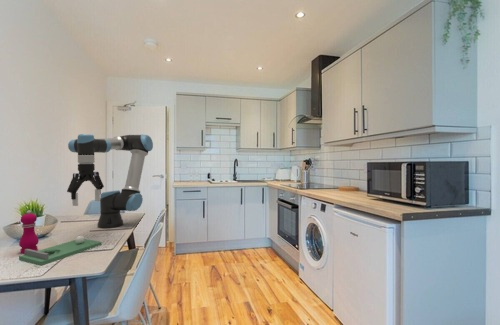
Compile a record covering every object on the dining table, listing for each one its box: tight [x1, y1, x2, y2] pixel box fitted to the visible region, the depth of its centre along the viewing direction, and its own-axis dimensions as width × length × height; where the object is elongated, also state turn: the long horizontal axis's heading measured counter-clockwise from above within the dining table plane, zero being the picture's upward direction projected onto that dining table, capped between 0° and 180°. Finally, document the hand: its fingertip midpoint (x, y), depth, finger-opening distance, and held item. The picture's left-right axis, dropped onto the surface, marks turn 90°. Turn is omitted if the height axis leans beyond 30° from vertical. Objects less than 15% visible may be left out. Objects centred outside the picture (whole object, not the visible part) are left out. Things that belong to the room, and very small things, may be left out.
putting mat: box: [18, 238, 102, 266], centre depth 125 cm, size 28×16×4 cm, turn 158°
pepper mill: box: [18, 209, 40, 255], centre depth 125 cm, size 7×7×20 cm
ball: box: [74, 235, 85, 244], centre depth 132 cm, size 4×4×4 cm
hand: (86, 203), depth 137 cm, fingers open, 13 cm apart
